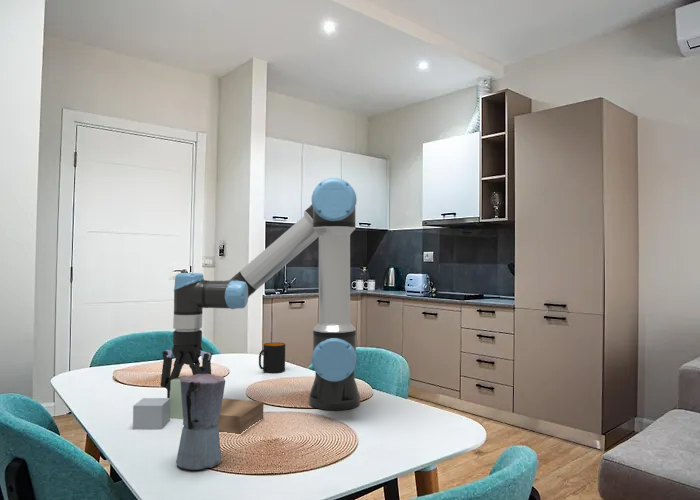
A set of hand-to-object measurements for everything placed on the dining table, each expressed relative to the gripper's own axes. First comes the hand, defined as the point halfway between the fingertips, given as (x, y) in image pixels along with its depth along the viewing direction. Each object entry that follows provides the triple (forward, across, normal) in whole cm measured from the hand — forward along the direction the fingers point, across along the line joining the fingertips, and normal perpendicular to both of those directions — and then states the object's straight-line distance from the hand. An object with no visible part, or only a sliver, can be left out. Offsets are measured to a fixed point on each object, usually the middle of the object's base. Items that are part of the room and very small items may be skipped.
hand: (185, 414), depth 139 cm
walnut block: (+1, -14, +4) cm, 15 cm away
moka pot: (0, -20, +29) cm, 36 cm away
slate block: (0, +4, +9) cm, 10 cm away
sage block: (0, 0, 0) cm, 0 cm away
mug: (0, -2, -58) cm, 58 cm away
